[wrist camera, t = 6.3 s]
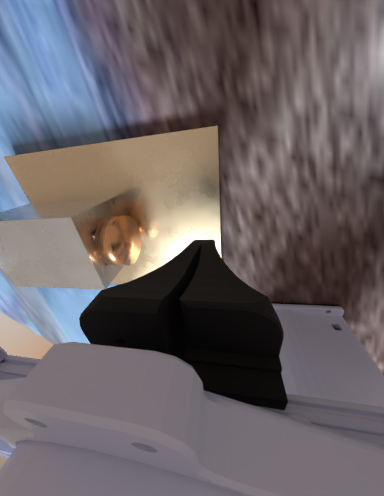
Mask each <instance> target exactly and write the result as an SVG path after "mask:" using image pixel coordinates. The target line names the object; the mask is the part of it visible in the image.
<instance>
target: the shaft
mask: <svg viewBox="0 0 384 496" xmlns="http://www.w3.org/2000/svg"><path fill="white" fill-rule="evenodd" d="M91 234H92V236H93V238H94V241H95V246H96V250H97V253H98V255H99V257H100V259H101V260H102V261H103V262H104V263H106V264H108V265H132V264H134V263H135V262H136V260H137V259H138V257H139V254H140V250H141V234H140V230H139V227H138V225H137V223H136V221H135V220H134V219H133V218H132V217H130V216H110V217H105V218H104V219H102V220H101V221H100V223H99V224H98V226H97V229H95V230H94V231H92V232H91Z"/></svg>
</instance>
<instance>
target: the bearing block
mask: <svg viewBox="0 0 384 496" xmlns="http://www.w3.org/2000/svg"><path fill="white" fill-rule="evenodd" d="M4 158H5V160H6V162H7V163H8V165H9V167H10V169H11V170H12V172H13V174H14V175H15V177H16V179H17V181H18V182H19V184H20V186H21V188H22V189H23V191H24V193H25V195H26V196H27V198H28V200H29V202H30V204H27V205H24V206H20V207H17V208H14V209H10V210H7V211H4V212H0V268H1V269H2V270H3V271H4V273H5V274H6V275H7V276H8V278H9V279H10V280H11V281H12V283H13V284H14V285H15V286H24V287H52V288H80V289H106V288H107V287H108V285H109V284H123V283H126V282H129V281H132V280H134V279H137V278H139V277H141V276H144V275H146V274H148V273H150V272H152V271H153V270H155V269H157V268H159V267H161V266H162V265H164V264H166V263H167V262H169V261H170V260H171V259H173V258H174V257H175V256H176V255H178V254H179V253H180V252H181V251H182V250H184V249H185V248H186V247H187V246H188V245H189V244H190V243H191V242H192V241H194V240H210V239H213V240H214V241H215V245H216V248H217V250H218V252H219V254H220V256H221V223H220V184H219V145H218V126H212V127H205V128H198V129H191V130H184V131H177V132H171V133H164V134H157V135H150V136H143V137H136V138H129V139H123V140H116V141H109V142H102V143H95V144H88V145H81V146H74V147H68V148H61V149H54V150H47V151H40V152H33V153H26V154H20V155H13V156H6V157H4ZM110 216H130V217H132V218H133V219H134V220H135V221H136V223H137V225H138V227H139V230H140V234H141V250H140V254H139V257H138V259H137V260H136V262H135V263H134V264H132V265H108V264H106V263H104V262H103V261H102V260H101V259H100V257H99V255H98V253H97V250H96V246H95V241H94V238H93V236H92V234H91V232H92V231H94V230H95V229H97V226H98V224H99V223H100V221H101V220H102V219H104V218H105V217H110Z"/></svg>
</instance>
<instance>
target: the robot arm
mask: <svg viewBox="0 0 384 496" xmlns="http://www.w3.org/2000/svg"><path fill="white" fill-rule="evenodd" d="M343 314H344V310H343V308H342V307H339V306H316V305H294V304H271V302H270V300H269V299H268V297H266V296H265V295H263V294H261V293H260V292H258V291H256V290H254V289H253V288H251V287H250V286H248V285H247V284H245V283H244V282H243V281H242V280H240V279H239V278H238V277H237V276H236V275H235V274H234V273H233V272H232V271H231V270H230V269H229V268H228V266H227V265H226V264H225V262H224V261H223V259H222V258H221V256H220V254H219V252H218V250H217V248H216V245H215V241H214V240H213V239H210V240H194V241H192V242H191V243H190V244H189V245H188V246H187V247H186V248H185V249H184V250H182V251H181V252H180V253H179V254H178V255H176V256H175V257H174V258H173V259H171V260H170V261H169V262H167V263H166V264H164V265H162V266H161V267H159V268H157V269H155V270H153V271H152V272H150V273H148V274H146V275H144V276H141V277H139V278H137V279H134V280H132V281H129V282H126V283H123V284H120V285H117V286H114V287H111V288H107V289H104V290H101V291H100V293H99V294H98V295H97V296H96V297H95V298H94V300H93V301H92V302H91V303H90V304H89V305H88V307H87V308H86V309H85V310H84V311H83V312H82V314H81V316H80V318H79V320H80V327H81V329H82V331H83V333H84V334H85V336H86V337H87V339H88V340H89V342H90V343H91V344H86V343H77V342H68V343H59V344H55V345H53V346H52V347H51V349H50V350H49V351H48V352H47V353H46V354H45V355H44V357H43V358H42V359H41V360H40V359H33V358H26V357H18V356H12V355H7V353H6V352H5V350H3V349H2V348H1V347H0V456H2V457H6V458H8V460H7V461H6V462H5V464H4V465H3V467H2V468H1V470H0V496H384V376H383V374H382V373H381V371H380V370H379V368H378V367H377V365H376V364H375V362H374V361H373V360H372V358H371V357H370V355H369V354H368V352H367V351H366V350H365V348H364V347H363V345H362V344H361V342H360V341H359V340H358V338H357V337H356V335H355V334H354V332H353V331H352V330H351V328H350V327H349V325H348V324H347V322H346V321H345V319H344V318H343V317H342V316H343Z"/></svg>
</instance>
